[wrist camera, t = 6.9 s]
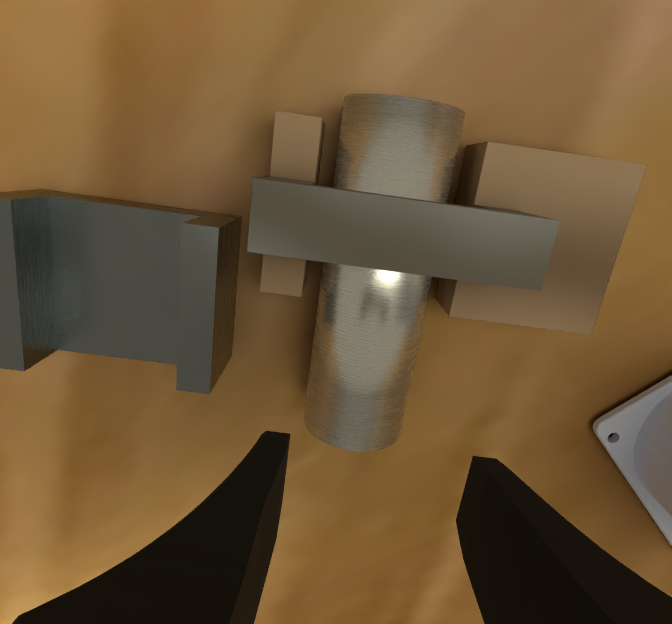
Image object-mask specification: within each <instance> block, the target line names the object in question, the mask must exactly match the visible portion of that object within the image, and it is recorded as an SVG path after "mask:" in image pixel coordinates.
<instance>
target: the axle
mask: <svg viewBox="0 0 672 624" xmlns="http://www.w3.org/2000/svg"><path fill="white" fill-rule="evenodd" d="M464 118H465V112H464V111H463V110H462V109H459V108H457V107H454V106H451V105H448V104H444V103H439V102H435V101H430V100H425V99H419V98H412V97H405V96H396V95H384V94H353V95H348V96H345V97H344V105H343V113H342V121H341V128H340V136H339V144H338V152H337V160H336V168H335V175H334V183H333V187H334V188H341V189H348V190H355V191H362V192H370V193H377V194H384V195H391V196H398V197H405V198H412V199H420V200H427V201H434V202H441V203H447V201H448V196H449V191H450V187H451V182H452V177H453V172H454V167H455V162H456V157H457V152H458V147H459V142H460V138H461V133H462V128H463V123H464ZM431 280H432V277H431V276H424V275H416V274H409V273H402V272H394V271H387V270H379V269H372V268H364V267H357V266H349V265H342V264H335V263H327V262H323V270H322V277H321V285H320V293H319V301H318V309H317V317H316V324H315V332H314V340H313V348H312V356H311V364H310V372H309V379H308V387H307V395H306V403H305V411H304V422H305V425H306V427H307V428H308V430H309V431H310V432H311V433H312V434H313V435H314V436H316V437H317V438H318V439H320V440H322V441H323V442H325V443H327V444H330V445H332V446H335V447H338V448H342V449H346V450H352V451H375V450H380V449H383V448H386V447H388V446H390V445H392V444H393V443H395V442H396V441H397V439H398V438H399V436H400V432H401V427H402V422H403V417H404V412H405V407H406V402H407V397H408V393H409V388H410V383H411V378H412V373H413V368H414V363H415V358H416V353H417V348H418V343H419V339H420V334H421V329H422V324H423V319H424V314H425V309H426V304H427V299H428V294H429V290H430V285H431Z"/></svg>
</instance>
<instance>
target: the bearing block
mask: <svg viewBox="0 0 672 624" xmlns="http://www.w3.org/2000/svg"><path fill="white" fill-rule="evenodd" d="M324 126H325V124H324V121H323V118H322V117H315V116H308V115H301V114H294V113H287V112H280V111H275V122H274V133H273V145H272V156H271V168H270V176H264V177H255V178H253V180H252V193H251V206H250V219H249V233H248V246H247V252H253V253H260V254H263V261H262V272H261V284H260V292H267V293H275V294H283V295H290V296H298V297H302V293H303V290H304V287H305V283H306V279H307V271H308V262H309V260H312V261H320V262H327V263H335V264H342V265H349V266H357V267H364V268H372V269H379V270H387V271H394V272H402V273H409V274H416V275H424V276H431V277H439V282H438V287H437V292H436V297H435V298H436V299H437V301H438V302H439V303H440V305H441V306H442V307H443V309H444V310H445V311H446V313H447V314H448V315H449V316H450V317H458V318H465V319H473V320H480V321H488V322H496V323H503V324H511V325H518V326H526V327H534V328H541V329H549V330H556V331H564V332H572V333H579V334H587V335H591V334H592V331H593V328H594V325H595V322H596V319H597V315H598V312H599V309H600V306H601V303H602V300H603V297H604V294H605V291H606V288H607V285H608V282H609V279H610V276H611V273H612V270H613V267H614V264H615V260H616V257H617V254H618V251H619V248H620V245H621V242H622V239H623V236H624V233H625V230H626V227H627V224H628V221H629V218H630V215H631V212H632V208H633V205H634V202H635V199H636V196H637V193H638V190H639V187H640V184H641V181H642V178H643V175H644V172H645V169H646V166H647V165H646V164H639V163H632V162H625V161H618V160H611V159H604V158H598V157H591V156H584V155H577V154H570V153H563V152H556V151H549V150H542V149H535V148H529V147H522V146H515V145H508V144H501V143H494V142H483V143H478V144H472V145H467V149H466V153H465V158H464V163H463V168H462V173H461V177H460V182H459V187H458V192H457V196H456V201H455V204H448V203H441V202H434V201H427V200H420V199H412V198H405V197H398V196H391V195H384V194H377V193H370V192H362V191H355V190H348V189H341V188H334V187H327V186H320V185H318V177H319V169H320V160H321V152H322V143H323V135H324Z"/></svg>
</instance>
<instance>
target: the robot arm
mask: <svg viewBox="0 0 672 624" xmlns="http://www.w3.org/2000/svg"><path fill="white" fill-rule="evenodd" d="M593 431H594V433H595V434H596V435H597V437H598V438H599V440H600V441H601V443H602V444H603V446H604V447H605V449H606V450H607V452H608V453H609V455H610V456H611V458H612V459H613V461H614V462H615V464H616V465H617V467H618V468H619V469H620V471H621V472H622V474H623V475H624V477H625V478H626V480H627V481H628V483H629V484H630V486H631V487H632V489H633V490H634V492H635V493H636V495H637V496H638V498H639V499H640V501H641V502H642V503H643V505H644V506H645V508H646V509H647V511H648V512H649V514H650V515H651V517H652V518H653V520H654V521H655V523H656V524H657V526H658V527H659V529H660V530H661V532H662V533H663V535H664V536H665V537H666V539H667V540H668V542H669V543H670V545H671V546H672V375H671V376H669V377H668V378H666V379H664V380H662V381H661V382H659V383H657V384H656V385H654V386H652V387H651V388H649V389H647V390H645V391H644V392H642V393H640V394H639V395H637V396H635V397H633V398H632V399H630V400H628V401H627V402H625V403H623V404H622V405H620V406H618V407H616V408H615V409H613V410H611V411H610V412H608V413H606V414H605V415H603V416H601V417H599V418H598V419H597V420H596V421H595V422H594V424H593ZM611 433H614V435H613V436H612V437H610V438H608V436H609V435H610V434H611ZM289 441H290V434H288V433H280V432H271V431H266V432H264V433H263V434H262V435H261V436H260V438H259V439H258V441H257V442H256V444H255V445H254V446H253V448H252V449H251V450H250V452H249V453H248V454H247V455H246V457H245V458H244V459H243V460H242V461H241V463H240V464H239V465H238V466H237V467H236V468H235V469H234V470H233V472H232V473H231V474H230V475H229V476H228V477H227V478H226V479H225V480H224V481H223V482H222V483H221V484H220V485H219V486H218V487H217V488H216V489H215V490H214V491H213V492H212V493H211V494H210V495H209V496H208V497H207V498H206V499H205V500H204V501H203V502H202V503H201V504H200V505H198V506H197V507H196V508H195V509H194V510H193V511H192V512H190V513H189V514H188V515H187V516H186V517H184V518H183V519H182V520H181V521H180V522H178V523H177V524H176V525H175V526H173V527H172V528H171V529H169V530H168V531H167V532H165V533H164V534H163V535H161V536H160V537H158V538H157V539H156V540H154V541H153V542H152V543H150V544H149V545H147V546H146V547H145V548H143V549H142V550H140V551H139V552H137V553H136V554H134V555H133V556H131V557H129V558H128V559H126V560H124V561H123V562H121V563H119V564H118V565H116V566H115V567H113V568H111V569H110V570H108V571H106V572H105V573H103V574H101V575H99V576H98V577H96V578H94V579H92V580H90V581H89V582H87V583H85V584H83V585H81V586H79V587H77V588H75V589H73V590H71V591H69V592H67V593H65V594H63V595H61V596H59V597H57V598H55V599H53V600H51V601H49V602H47V603H44V604H42V605H40V606H38V607H36V608H34V609H32V610H30V611H28V612H25V613H23V614H21V615H19V616H18V617H17V618H16V620H15V621H14V622H13V623H12V624H254V621H255V617H256V613H257V610H258V606H259V602H260V598H261V595H262V591H263V587H264V583H265V580H266V576H267V572H268V568H269V564H270V561H271V557H272V553H273V549H274V545H275V542H276V537H277V531H278V525H279V519H280V512H281V506H282V500H283V491H284V483H285V474H286V466H287V458H288V449H289ZM456 523H457V529H458V534H459V540H460V545H461V550H462V554H463V559H464V563H465V566H466V569H467V572H468V575H469V578H470V581H471V584H472V587H473V591H474V594H475V597H476V600H477V603H478V606H479V609H480V611H481V614H482V617H483V620H484V623H485V624H672V597H670V596H668V595H667V594H665V593H664V592H662V591H661V590H659V589H658V588H656V587H655V586H653V585H652V584H650V583H649V582H647V581H646V580H644V579H643V578H642V577H640V576H639V575H637V574H636V573H635V572H633V571H632V570H630V569H629V568H627V567H626V566H625V565H623V564H622V563H620V562H619V561H618V560H616V559H615V558H614V557H612V556H611V555H610V554H608V553H607V552H606V551H604V550H603V549H602V548H600V547H599V546H598V545H597V544H595V543H594V542H593V541H592V540H590V539H589V538H588V537H587V536H585V535H584V534H583V533H582V532H580V531H579V530H578V529H577V528H576V527H574V526H573V525H572V524H571V523H570V522H568V521H567V520H566V519H565V518H564V517H563V516H561V515H560V514H559V513H558V512H557V511H556V510H554V509H553V508H552V507H551V506H550V505H549V504H548V503H546V502H545V501H544V500H543V499H542V498H541V497H540V496H539V495H537V494H536V493H535V492H534V491H533V490H532V489H531V488H530V487H529V486H527V485H526V484H525V483H524V482H523V481H522V480H521V479H520V478H519V477H517V476H516V475H515V474H514V473H513V472H512V471H511V470H510V469H508V468H507V467H506V466H505V465H504V464H502V463H501V462H500V461H499V460H497V459H494V458H486V457H478V456H473V458H472V462H471V465H470V469H469V473H468V477H467V481H466V484H465V488H464V492H463V496H462V499H461V503H460V507H459V511H458V514H457V518H456Z"/></svg>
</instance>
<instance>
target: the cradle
mask: <svg viewBox="0 0 672 624" xmlns="http://www.w3.org/2000/svg"><path fill="white" fill-rule="evenodd" d="M240 231H241V217H240V216H233V215H225V214H218V213H211V212H204V211H196V210H189V209H182V208H174V207H167V206H160V205H152V204H145V203H138V202H130V201H123V200H116V199H109V198H101V197H94V196H87V195H79V194H72V193H65V192H57V191H50V190H43V189H39V190H25V191H11V192H0V368H3V369H11V370H19V371H25V370H27V369H29V368H30V367H32V366H33V365H35V364H36V363H38V362H39V361H41V360H42V359H44V358H46V357H47V356H49V355H50V354H52V353H53V352H55V351H56V350H65V351H73V352H81V353H89V354H97V355H105V356H113V357H121V358H128V359H136V360H144V361H152V362H160V363H168V364H176V365H177V387H176V390H181V391H190V392H198V393H206V394H210V393H211V391H212V389H213V387H214V386H215V384H216V382H217V381H218V379H219V377H220V375H221V374H222V372H223V370H224V368H225V367H226V365H227V363H228V361H229V360H230V358H231V356H232V346H233V331H234V317H235V303H236V288H237V274H238V260H239V245H240Z"/></svg>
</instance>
